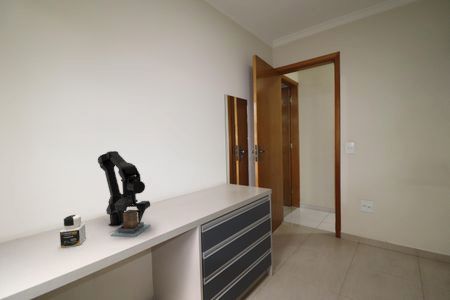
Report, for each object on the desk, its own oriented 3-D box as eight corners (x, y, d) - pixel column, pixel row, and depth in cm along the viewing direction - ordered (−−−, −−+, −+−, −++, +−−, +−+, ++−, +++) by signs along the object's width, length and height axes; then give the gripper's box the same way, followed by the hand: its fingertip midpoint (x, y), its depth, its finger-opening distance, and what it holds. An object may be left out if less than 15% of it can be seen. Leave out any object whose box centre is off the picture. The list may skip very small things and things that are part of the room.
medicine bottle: (60, 248, 87) (58, 220, 86) (68, 240, 93) (66, 214, 93) (80, 245, 89) (78, 217, 88) (86, 238, 95) (84, 212, 95)
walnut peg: (124, 231, 100) (123, 212, 100) (129, 227, 105) (128, 209, 104) (132, 231, 99) (131, 213, 99) (138, 227, 104) (137, 209, 104)
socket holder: (110, 236, 97) (110, 230, 96) (127, 224, 109) (127, 220, 109) (135, 236, 95) (135, 231, 94) (150, 225, 107) (150, 220, 107)
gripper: (99, 195, 95) (101, 228, 95) (137, 195, 92) (139, 229, 92) (116, 189, 106) (117, 219, 106) (150, 189, 103) (151, 220, 103)
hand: (130, 222), depth 102 cm, fingers open, 9 cm apart
